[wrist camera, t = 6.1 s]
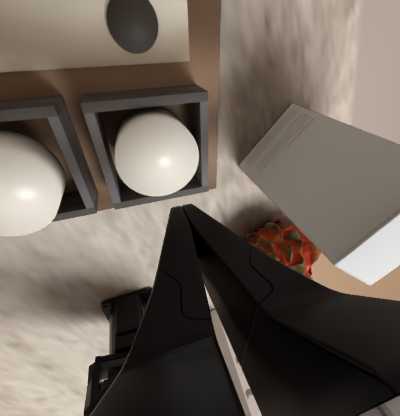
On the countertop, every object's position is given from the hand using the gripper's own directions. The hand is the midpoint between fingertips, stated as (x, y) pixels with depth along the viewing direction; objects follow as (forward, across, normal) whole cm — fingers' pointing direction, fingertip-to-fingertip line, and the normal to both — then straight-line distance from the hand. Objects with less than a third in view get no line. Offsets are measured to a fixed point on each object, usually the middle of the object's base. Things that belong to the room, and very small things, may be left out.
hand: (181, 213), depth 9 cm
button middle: (+7, +8, 0) cm, 11 cm away
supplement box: (+11, -13, +4) cm, 18 cm away
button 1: (+8, 0, 0) cm, 8 cm away
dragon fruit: (+11, -13, +15) cm, 23 cm away
